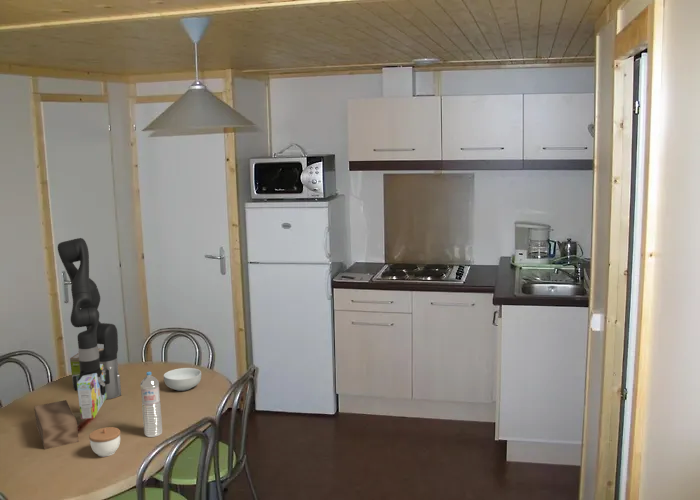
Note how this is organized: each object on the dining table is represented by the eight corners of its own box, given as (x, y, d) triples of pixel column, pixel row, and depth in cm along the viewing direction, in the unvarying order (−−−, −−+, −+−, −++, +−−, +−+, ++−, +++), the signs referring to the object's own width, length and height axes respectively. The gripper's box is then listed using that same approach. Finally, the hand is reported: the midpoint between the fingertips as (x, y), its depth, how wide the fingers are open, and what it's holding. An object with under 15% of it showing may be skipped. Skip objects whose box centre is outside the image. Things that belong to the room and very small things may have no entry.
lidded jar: (91, 462, 247) (89, 437, 245) (89, 450, 256) (87, 426, 255) (123, 456, 251) (121, 431, 249) (120, 444, 260) (118, 420, 259)
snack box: (93, 398, 288) (90, 364, 285) (107, 398, 289) (104, 363, 286) (79, 420, 267) (76, 382, 265) (94, 419, 268) (91, 382, 265)
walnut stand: (67, 418, 286) (66, 400, 285) (78, 441, 264) (76, 421, 262) (36, 425, 280) (34, 406, 279) (44, 449, 258) (42, 428, 256)
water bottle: (166, 431, 271) (161, 370, 267) (155, 438, 265) (151, 376, 261) (151, 429, 273) (146, 368, 269) (140, 436, 267) (135, 374, 263)
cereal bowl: (209, 385, 320) (208, 370, 319) (183, 397, 307) (182, 381, 305) (183, 379, 329) (182, 365, 328) (156, 390, 316) (155, 375, 314)
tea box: (88, 376, 336) (86, 347, 334) (108, 377, 335) (105, 347, 332) (72, 388, 321) (69, 357, 319) (92, 388, 320) (89, 357, 317)
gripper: (105, 351, 281) (109, 390, 284) (68, 358, 274) (72, 397, 277) (109, 356, 275) (113, 395, 278) (71, 363, 267) (75, 404, 270)
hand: (92, 396), depth 277 cm, fingers closed on snack box, 7 cm apart
